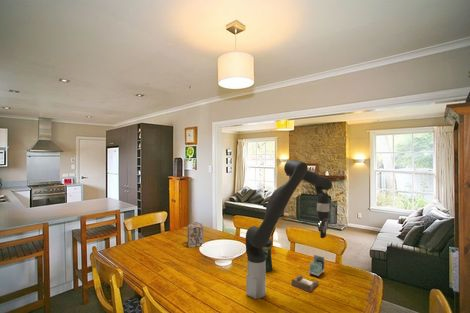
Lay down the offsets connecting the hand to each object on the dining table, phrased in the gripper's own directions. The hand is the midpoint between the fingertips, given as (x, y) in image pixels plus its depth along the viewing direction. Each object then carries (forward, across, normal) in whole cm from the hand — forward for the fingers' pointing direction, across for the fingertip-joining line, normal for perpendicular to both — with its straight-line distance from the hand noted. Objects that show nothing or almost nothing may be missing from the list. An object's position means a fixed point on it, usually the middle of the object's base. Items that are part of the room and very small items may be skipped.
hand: (323, 237), depth 147 cm
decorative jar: (+19, -28, +92) cm, 98 cm away
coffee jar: (+19, -26, +27) cm, 42 cm away
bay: (+19, -27, 0) cm, 33 cm away
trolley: (+19, -11, 0) cm, 22 cm away
